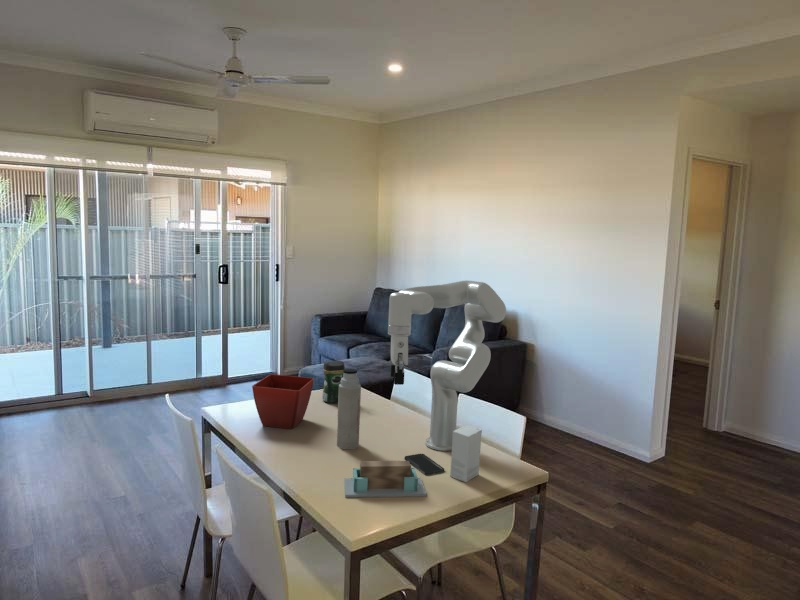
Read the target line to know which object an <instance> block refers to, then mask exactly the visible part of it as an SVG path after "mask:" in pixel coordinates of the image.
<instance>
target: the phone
mask: <svg viewBox="0 0 800 600" xmlns="http://www.w3.org/2000/svg"><path fill="white" fill-rule="evenodd" d="M404 461H409V462H410V465H411V467H412V468H414V469H415V470H417V471H419V472H420V473H421V474H423V475H424V476H431V475H436V474H437V475H438V474H443V473H445V468H444V467H443V466H442V465H440V464H438V463H437V462H436V461H434V459H432V458H430V457H428V456H427V455H426V454H425V453H416V454H410V455H405V456H404Z"/></svg>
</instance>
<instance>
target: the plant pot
mask: <svg viewBox="0 0 800 600" xmlns="http://www.w3.org/2000/svg"><path fill="white" fill-rule="evenodd" d="M314 380H315V379H314V378H313V377H306V376H297V375H296V376H295V375H294V376H293V375H284V374H283V375H282V374H275V373H274V374H273V373H272V374H268V375H267V376H266V377H263V378H262V379H260V380H259V381H257V382H256V383H255V384H253V385H251V388H252V395H253V400H254V403H255V407H256V411H257V414H258V417H259V420H260V423H261V425H262V426H263V427H270V428H281V429H289V430H292V429H294V428H295V427H297V426H298V424H300V422H301V421H303V419H304V417H305V415H306V412H307V408H308V406H309V403H310V399H311V397H312V396H311V395H312V390H313V386H314Z"/></svg>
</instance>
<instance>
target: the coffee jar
mask: <svg viewBox="0 0 800 600" xmlns="http://www.w3.org/2000/svg"><path fill="white" fill-rule="evenodd" d="M344 369H346V368H345V363H344V361H343V360H330V361H329V360H328V361H327V360H326V361H324V363H323V368H322V370H323V374H324V380H323V381H324V382H323V389H322V390H323V391H322V401H323V402H325V403H329V404H331V403H332V404H333V403H334V404H336V403H338V393H339V384H341V382H340V381H341V378H343V375H344V372H343V370H344Z"/></svg>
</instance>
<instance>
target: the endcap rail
mask: <svg viewBox="0 0 800 600" xmlns="http://www.w3.org/2000/svg"><path fill="white" fill-rule="evenodd" d="M343 482H344V483H343V485H344V497H345V498H386V497H387V498H390V497H391V498H392V497H396V498H397V497H398V498H399V497H404V498H406V497H427V491H426V489H425V486H424V483H423V480H422V478H421V477H418V475H417V471H416V468H415V467H411V476H410V477H404V488H400V489H367V485H368V477H360V467H358V468H357V467H356V468H355V467H354V468H352V478H350V477H348V478H347V477H346V478H344V479H343Z"/></svg>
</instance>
